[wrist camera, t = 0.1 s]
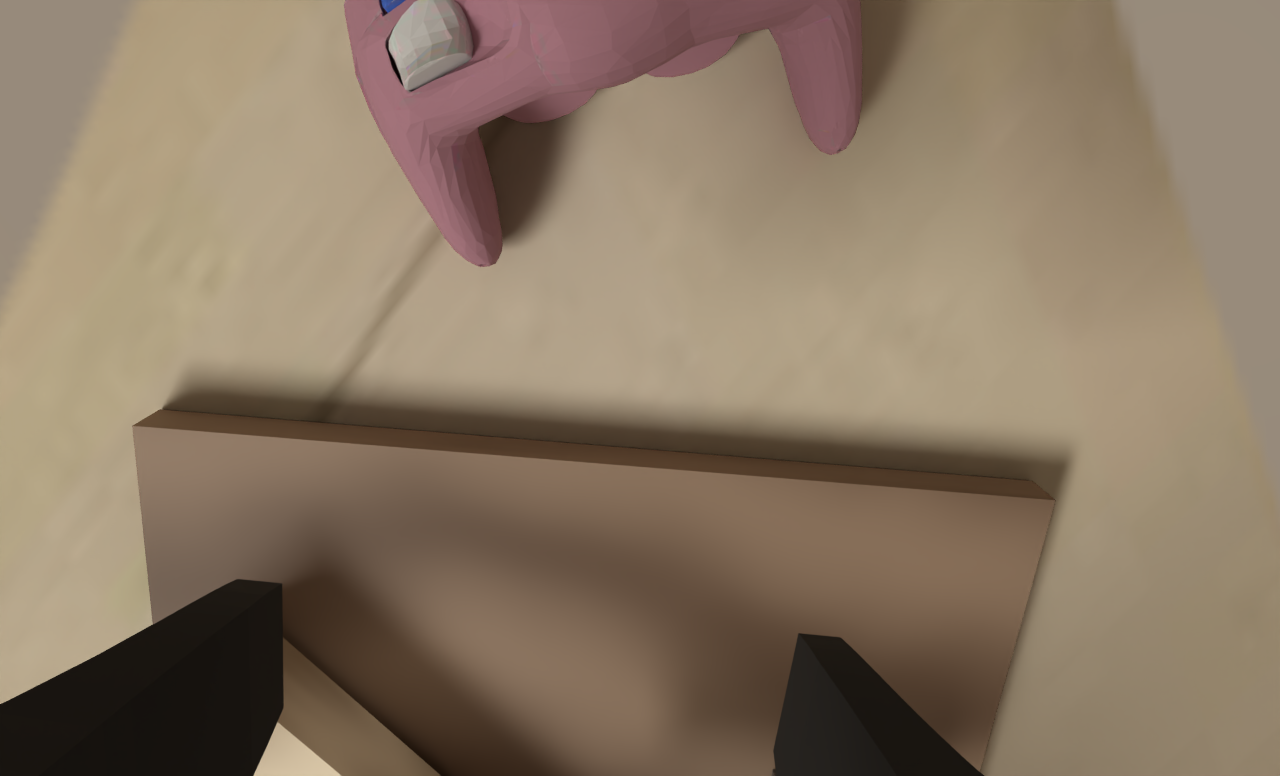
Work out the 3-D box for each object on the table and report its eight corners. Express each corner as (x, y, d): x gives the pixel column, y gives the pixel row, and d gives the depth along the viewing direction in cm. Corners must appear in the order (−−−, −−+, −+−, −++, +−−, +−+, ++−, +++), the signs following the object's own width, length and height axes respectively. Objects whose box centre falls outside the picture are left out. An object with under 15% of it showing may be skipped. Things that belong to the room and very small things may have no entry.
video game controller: (806, -12, 19) (845, -297, 12) (867, 159, 18) (946, -43, 12) (423, 119, 20) (257, -82, 13) (467, 288, 19) (316, 170, 12)
